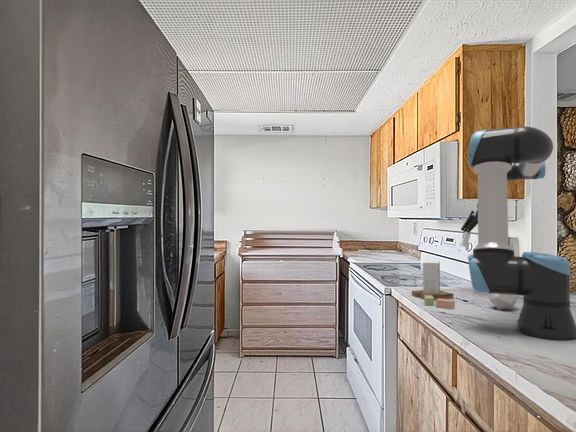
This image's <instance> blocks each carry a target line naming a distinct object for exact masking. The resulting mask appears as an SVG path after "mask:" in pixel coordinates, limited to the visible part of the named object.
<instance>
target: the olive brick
mask: <svg viewBox="0 0 576 432" xmlns="http://www.w3.org/2000/svg"><path fill="white" fill-rule="evenodd" d="M423 301H424V304H426V305H425V307H426V306H427V307H428V306H429V307H430V306H431V307H434V306H435V300H434V298H433V296H430V295H424V299H423Z"/></svg>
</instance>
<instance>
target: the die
mask: <svg viewBox="0 0 576 432" xmlns="http://www.w3.org/2000/svg"><path fill="white" fill-rule="evenodd" d="M490 294H491V295H490V296H489V299H488V300H489V301H490V302H491V303H492V305H494V307H495V308H497V310H498V311H499V310H502V311H503V310H504V311H505V310H508V311H509V310H513V309H514V307H515V304H516V302H517V300H518V298H519V297H518V295H510V294H494V293H490Z"/></svg>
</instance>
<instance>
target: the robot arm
mask: <svg viewBox="0 0 576 432" xmlns="http://www.w3.org/2000/svg"><path fill="white" fill-rule="evenodd" d="M553 150H554V142H553V140H552V139H551V137H550V135H548V134H547V133H546V132H545V131H542V130H541V129H539V128H535V127H532V126H523V125H522V126H515V127H513V126H512V127H504V128H503V127H502V128H493V129H483V130H477V131H475V132H473V133H472V134H471V137H470V139H469V145H468V154H467V155H468V156H467V165H468V166H469V167H472V171H473V172H474V174H476V175H477V204H476V208H477V210H476V211H474V210H471V211H470V213H469V216H468V217H467V219H466V220H465V222H464V223H463V225H462V227H461V228H460V231H463V234H462V240H461V241H462V242H461V244H460V245H461V246H462V247H464V248H468V245H469V240H470V237H471V232H472V230H473V229H474V228H475V227H476V226H477V245H476V246H475V247H474V248H473V249H472V254H469V255H468V256H467V260H468V268H469V275H470V281H471V286H472V289H473V290H474V291H475V292H477V293H485V294H489V295H490V294H492V293H494V294H510V295H516V296H523V302H522V303H523V305H522V306H521V307H522V308H521V310H520V312H519V317H518V319H517V321H516V328H517V331H518V332H520V333H522V334H524V335H527V336H532V337H536V338H539V339H540V338H541V339H547V340H561V341H562V340H574V339H576V322H575V321H576V320H575V319H574V316H573V313H572V310H571V297H570V296H571V295H570V293H571V292H570V289H571V288H570V285H571V284H570V276H571V270H570V263H569V261H568V259H566V258H565V257H562V256H559V255H554V254H550V253H549V254H548V253H542V252H533V251H524V252H522V254H521V256H516V255H515V250H514V249H513V248H512V247H511V246H510V245H509V217H508V216H509V215H508V213H509V210H508V208H509V207H508V181H518V180H524V181H525V180H538V179H539V180H540V179H544V178H545V176H546V162H545V161H547V160H548V159H549V158H550V157H551V155H552V153H553Z"/></svg>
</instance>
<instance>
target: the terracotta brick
mask: <svg viewBox="0 0 576 432" xmlns="http://www.w3.org/2000/svg"><path fill="white" fill-rule="evenodd" d="M455 301H456V300H453V299H440V298H439V299H436V300H435V308H438V309H439V308H440V309H447V310H454V309H455V308H456V306H455V305H456V304H455V303H456V302H455Z"/></svg>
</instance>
